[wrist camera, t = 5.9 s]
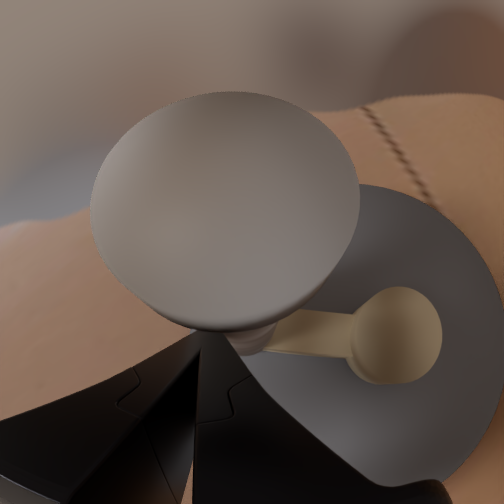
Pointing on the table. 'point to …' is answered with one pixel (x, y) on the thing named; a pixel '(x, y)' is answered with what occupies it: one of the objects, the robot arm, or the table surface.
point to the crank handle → (250, 234)
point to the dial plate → (418, 391)
